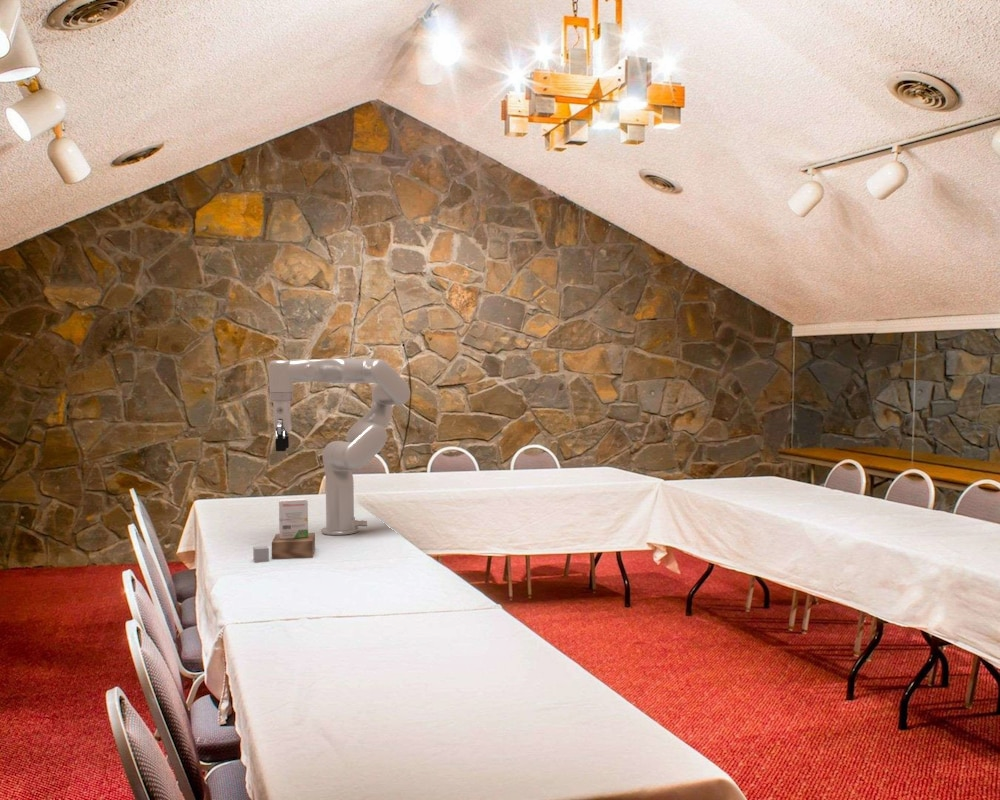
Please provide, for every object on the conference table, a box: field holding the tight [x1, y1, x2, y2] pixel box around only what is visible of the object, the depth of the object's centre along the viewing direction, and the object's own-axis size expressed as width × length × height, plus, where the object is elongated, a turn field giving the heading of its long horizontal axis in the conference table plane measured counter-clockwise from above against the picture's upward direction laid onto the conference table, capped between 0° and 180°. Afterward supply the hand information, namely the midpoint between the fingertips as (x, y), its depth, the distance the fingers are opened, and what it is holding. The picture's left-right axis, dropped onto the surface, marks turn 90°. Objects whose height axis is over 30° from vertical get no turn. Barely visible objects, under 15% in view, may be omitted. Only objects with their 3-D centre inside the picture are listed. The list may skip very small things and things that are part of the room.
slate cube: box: [252, 545, 270, 563], centre depth 274 cm, size 4×4×4 cm
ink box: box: [278, 498, 309, 539], centre depth 283 cm, size 8×5×12 cm, turn 106°
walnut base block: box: [271, 532, 316, 560], centre depth 283 cm, size 12×13×5 cm
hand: (282, 449), depth 301 cm, fingers open, 9 cm apart
